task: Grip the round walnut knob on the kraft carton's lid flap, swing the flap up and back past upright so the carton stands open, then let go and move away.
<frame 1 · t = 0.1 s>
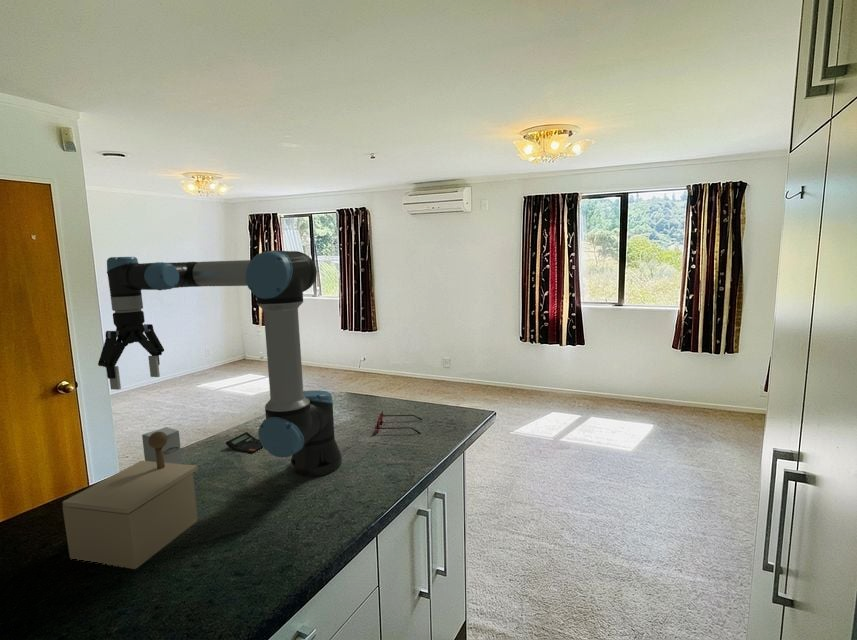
hand: (136, 382, 135), 28 cm above the counter, tool pointing down, fingers open, 13 cm apart
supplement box: (165, 472, 139), on the counter
flap: (133, 465, 104), point 17 cm above the counter, hinge at 0.0°
glasses: (399, 428, 171), on the counter
carton: (137, 538, 105), on the counter
calculator: (249, 447, 157), on the counter
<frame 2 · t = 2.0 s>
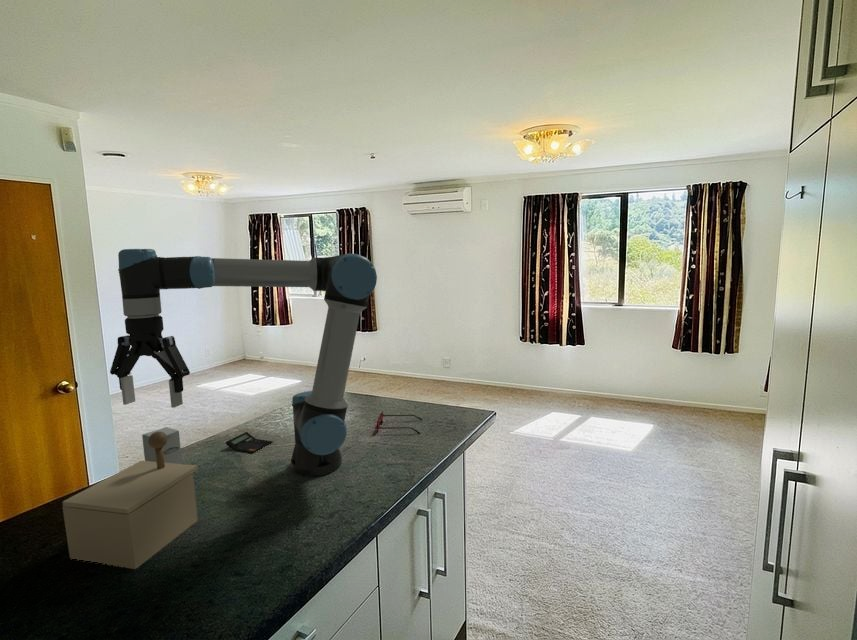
hand: (153, 404, 110), 29 cm above the counter, tool pointing down, fingers open, 13 cm apart
nothing on the counter moved.
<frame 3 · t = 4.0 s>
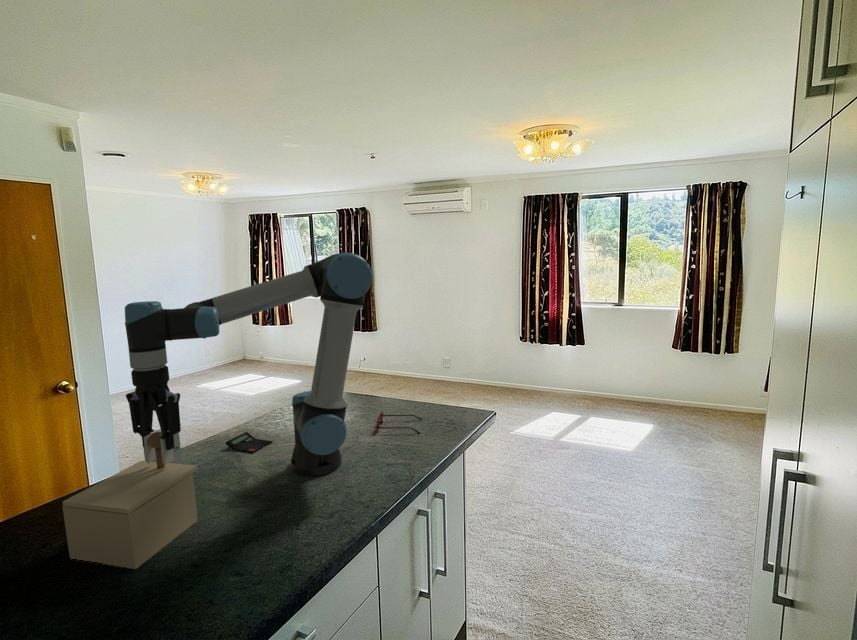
hand: (160, 461, 112), 15 cm above the counter, tool pointing down, fingers closed on flap, 4 cm apart
flap: (133, 465, 104), point 17 cm above the counter, hinge at 0.0°, touching gripper
everything else where it was.
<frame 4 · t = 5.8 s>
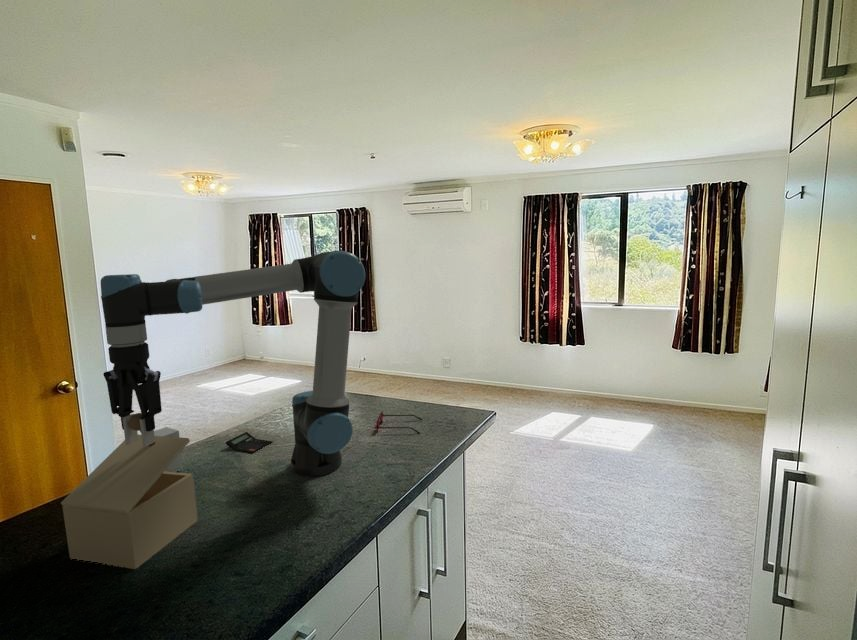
hand: (140, 443, 106), 21 cm above the counter, tool pointing down, fingers closed on flap, 4 cm apart
flap: (120, 455, 101), point 21 cm above the counter, hinge at 23.3°, touching gripper
everything else where it was.
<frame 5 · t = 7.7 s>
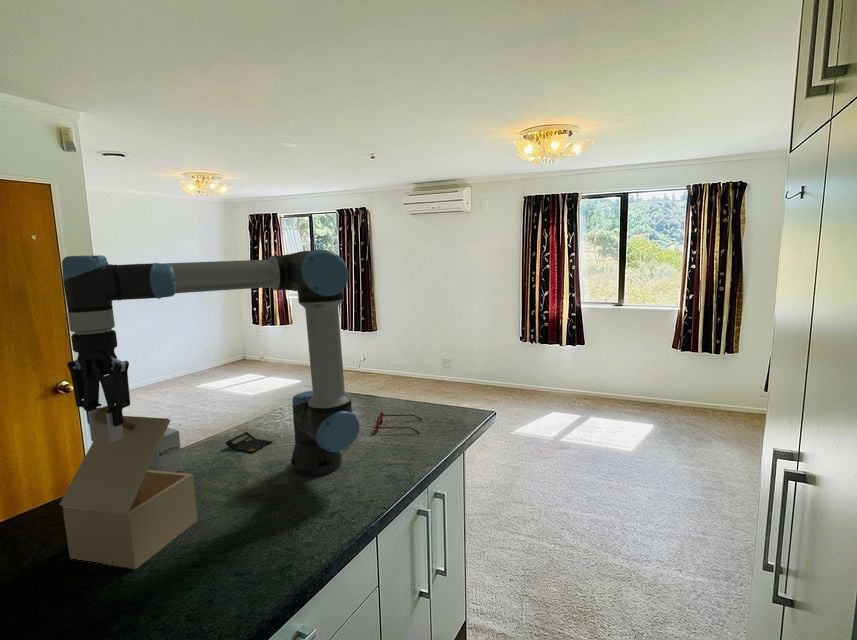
hand: (107, 439, 98), 26 cm above the counter, tool pointing down, fingers closed on flap, 4 cm apart
flap: (101, 454, 96), point 23 cm above the counter, hinge at 48.3°, touching gripper
everything else where it was.
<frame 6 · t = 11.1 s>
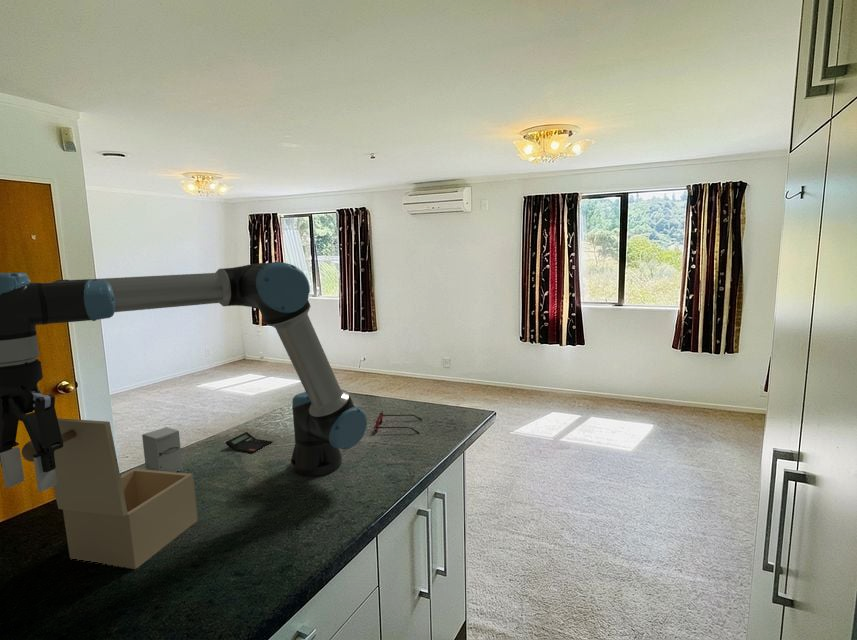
hand: (31, 485, 83), 23 cm above the counter, tool pointing down, fingers open, 7 cm apart
flap: (61, 478, 88), point 22 cm above the counter, hinge at 94.0°
everything else where it was.
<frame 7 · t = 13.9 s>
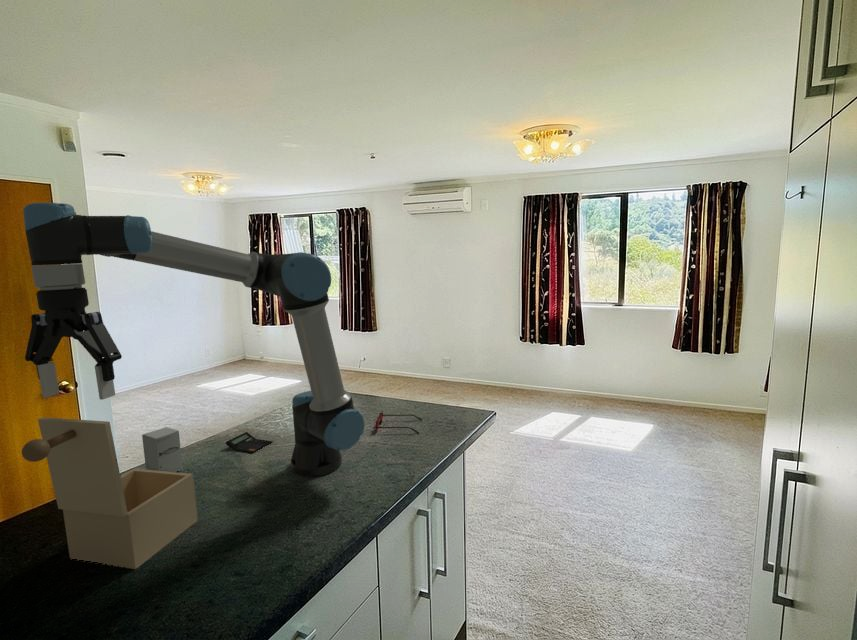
hand: (79, 396, 90), 37 cm above the counter, tool pointing down, fingers open, 13 cm apart
nothing on the counter moved.
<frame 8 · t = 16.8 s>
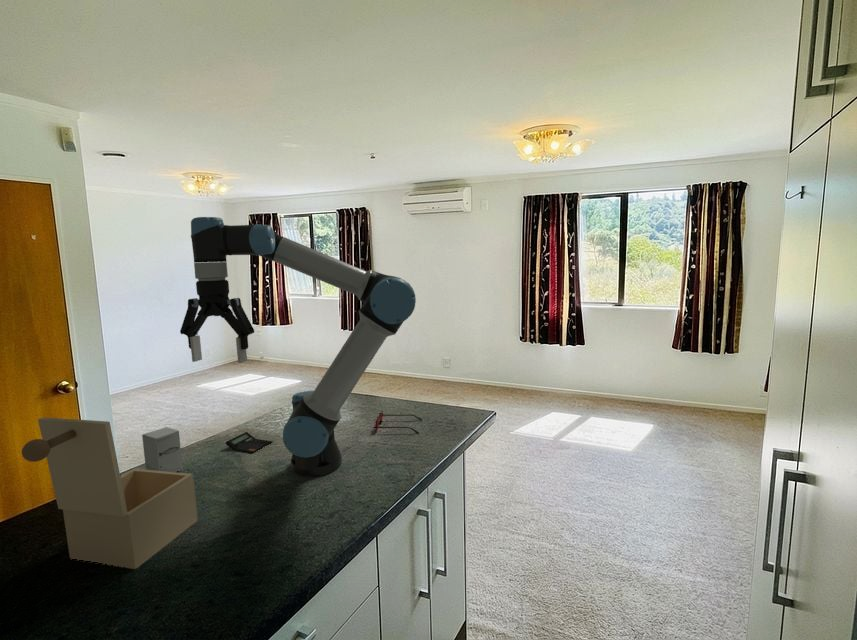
hand: (219, 361, 120), 37 cm above the counter, tool pointing down, fingers open, 13 cm apart
nothing on the counter moved.
at the end: flap at +94° (first picture: +0°); the gripper is holding nothing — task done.
